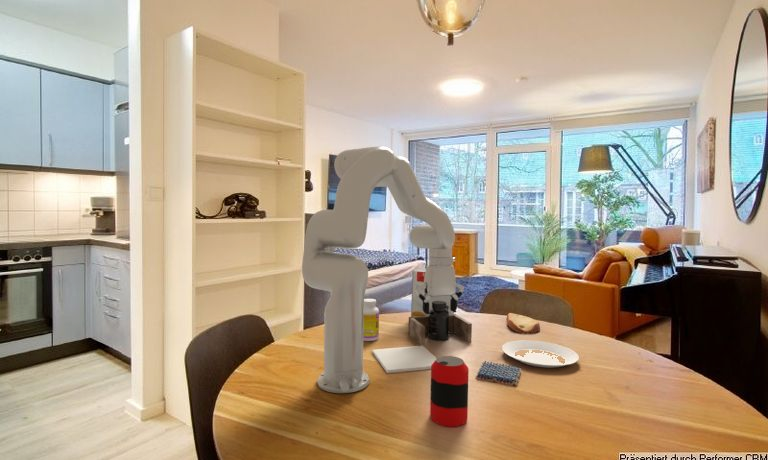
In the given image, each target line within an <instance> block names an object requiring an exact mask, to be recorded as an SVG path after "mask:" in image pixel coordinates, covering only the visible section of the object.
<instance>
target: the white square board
mask: <svg viewBox="0 0 768 460" xmlns="http://www.w3.org/2000/svg"><path fill="white" fill-rule="evenodd" d="M371 351H372V354H373V356H374V357H375V359H376V360H377V361H378V363H379V365H381V366H382V368H383V369H384V372H386V374H393V373H394V374H395V373H403V372H404V373H405V372H413V371H423V370H425V371H426V370H431V365H432V364H433V363H434V361H435V360H436V359H437V358H438V357H436V356H435V355H434V354H433V353H431V352H430V351H429V350H428V349H427V348H426V347H425V346H421V345H416V346H415V345H413V346H402V347H390V348H388V347H387V348H377V349H376V348H375V349H372V350H371Z"/></svg>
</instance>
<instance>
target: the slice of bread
mask: <svg viewBox="0 0 768 460" xmlns="http://www.w3.org/2000/svg"><path fill="white" fill-rule="evenodd" d="M506 325H507V327H508V326H509V327H508V328H510V329H511V330H512V331H513V332H515V331H516V333H517V332H519V333H518V334H521V333H534V334H535V333H538V332H539V331H540V330H541V326H540V321H538V320H537V319H534V318H533V317H529V316H525V315H522V314H517V313H513V312H509V313H508V314H507V316H506ZM537 331H538V332H537Z"/></svg>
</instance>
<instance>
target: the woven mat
mask: <svg viewBox="0 0 768 460" xmlns="http://www.w3.org/2000/svg"><path fill="white" fill-rule="evenodd" d="M521 370H522V368H520V366H517V365H514V366H513V365H510V364H508V365H507V364H505V363H502V364H501V363H498V362H496V363H495V362H492V361H490V362H489V361H488V362H487V361H486V360H484V362H482V363H481V364H480V368H479V370H478V371H477V373H476V376H475V378H476V379H477V380H483V381H486V382H493V383H499V384H505V385H508V386H509V385H510V386H515V387H516V386H518V385H519V383H518V382H519V381H520V377H521V374H522V371H521Z"/></svg>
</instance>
